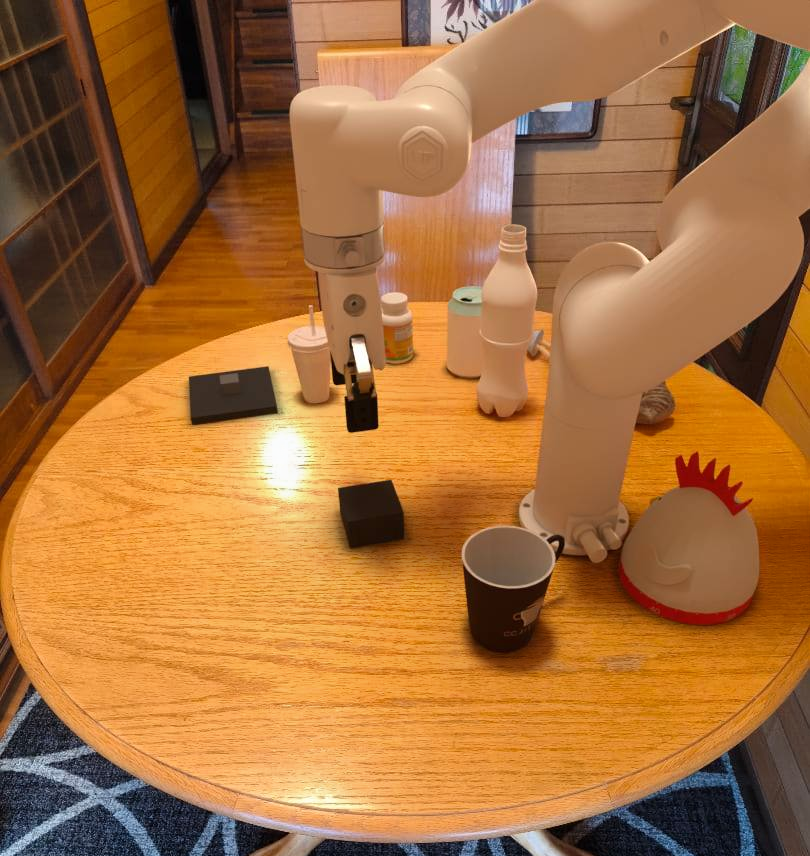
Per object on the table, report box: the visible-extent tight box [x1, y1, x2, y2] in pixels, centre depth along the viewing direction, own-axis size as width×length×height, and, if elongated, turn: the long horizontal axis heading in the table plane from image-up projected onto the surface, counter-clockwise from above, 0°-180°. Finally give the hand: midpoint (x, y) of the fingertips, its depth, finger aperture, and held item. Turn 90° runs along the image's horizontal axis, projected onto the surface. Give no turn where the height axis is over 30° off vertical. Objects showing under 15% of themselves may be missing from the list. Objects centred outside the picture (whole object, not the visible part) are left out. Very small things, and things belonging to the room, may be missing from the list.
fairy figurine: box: [527, 329, 551, 361], centre depth 119 cm, size 12×5×12 cm
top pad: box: [337, 479, 405, 549], centre depth 88 cm, size 6×6×4 cm
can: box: [446, 285, 483, 379], centre depth 113 cm, size 7×7×12 cm
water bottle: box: [475, 224, 538, 418], centre depth 100 cm, size 7×7×25 cm
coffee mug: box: [461, 525, 565, 654], centre depth 74 cm, size 12×9×10 cm
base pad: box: [188, 365, 279, 426], centre depth 111 cm, size 12×12×3 cm
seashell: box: [635, 380, 676, 425], centre depth 104 cm, size 9×7×8 cm
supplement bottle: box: [380, 291, 414, 365], centre depth 118 cm, size 5×5×10 cm
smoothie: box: [286, 304, 331, 404], centre depth 107 cm, size 6×6×14 cm
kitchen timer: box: [617, 450, 760, 626], centre depth 77 cm, size 14×14×15 cm
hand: (354, 405), depth 81 cm, fingers open, 9 cm apart
